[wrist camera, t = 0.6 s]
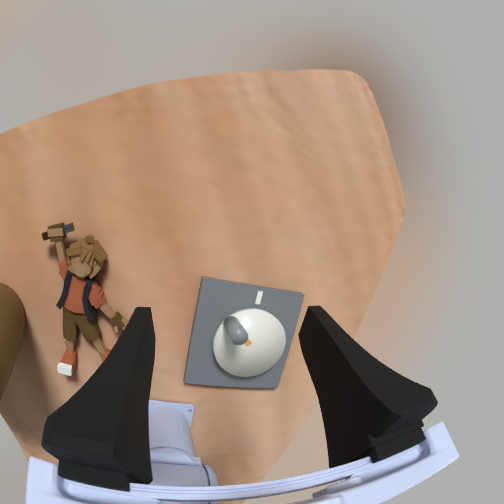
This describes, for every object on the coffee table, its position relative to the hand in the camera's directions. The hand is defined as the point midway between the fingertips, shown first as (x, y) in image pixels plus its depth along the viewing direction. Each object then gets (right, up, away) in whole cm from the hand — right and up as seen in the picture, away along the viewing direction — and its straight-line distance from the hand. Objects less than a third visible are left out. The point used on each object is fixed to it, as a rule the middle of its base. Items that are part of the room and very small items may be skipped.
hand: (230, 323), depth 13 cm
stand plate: (0, -8, +22) cm, 24 cm away
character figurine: (-19, -3, +17) cm, 25 cm away
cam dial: (0, -8, +21) cm, 23 cm away
